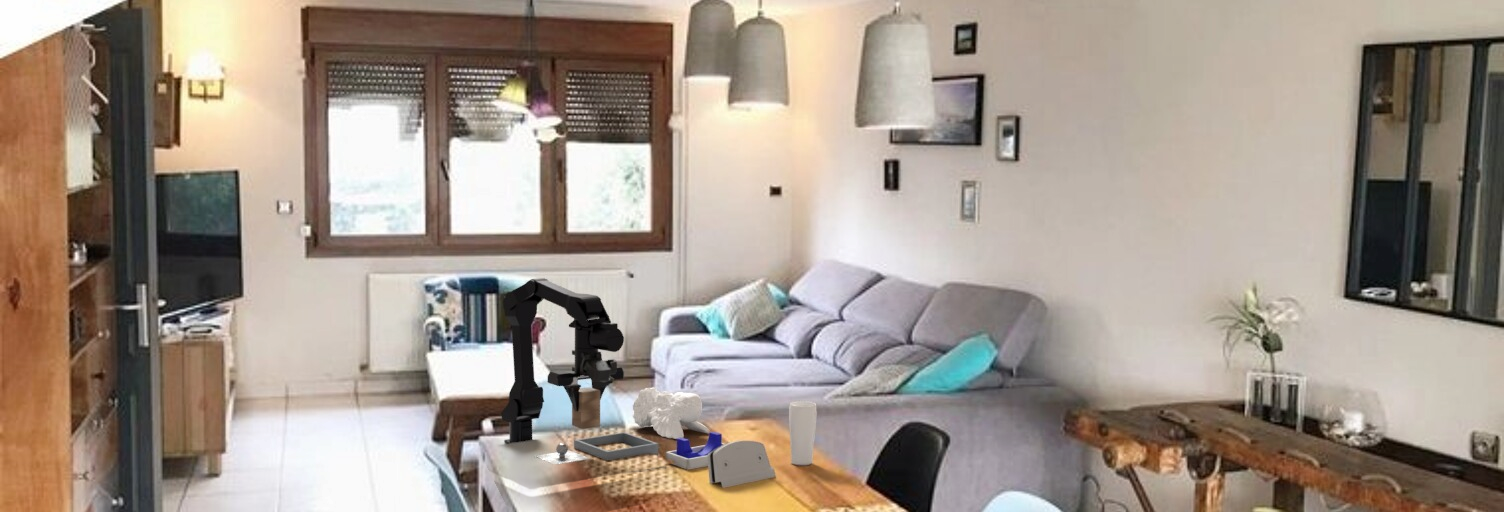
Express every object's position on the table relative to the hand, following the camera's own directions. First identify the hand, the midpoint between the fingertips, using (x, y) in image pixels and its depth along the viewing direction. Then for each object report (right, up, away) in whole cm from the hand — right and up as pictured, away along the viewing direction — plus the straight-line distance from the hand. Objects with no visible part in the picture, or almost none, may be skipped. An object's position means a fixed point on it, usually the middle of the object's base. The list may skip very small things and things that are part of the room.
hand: (586, 409), depth 317 cm
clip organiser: (+29, -13, +3) cm, 32 cm away
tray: (+7, -12, +6) cm, 15 cm away
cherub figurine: (+19, -10, +34) cm, 40 cm away
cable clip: (+28, -13, +4) cm, 31 cm away
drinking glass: (+53, -14, +2) cm, 55 cm away
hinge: (+38, -15, -13) cm, 43 cm away
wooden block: (0, -4, 0) cm, 4 cm away
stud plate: (-6, -13, -2) cm, 14 cm away
